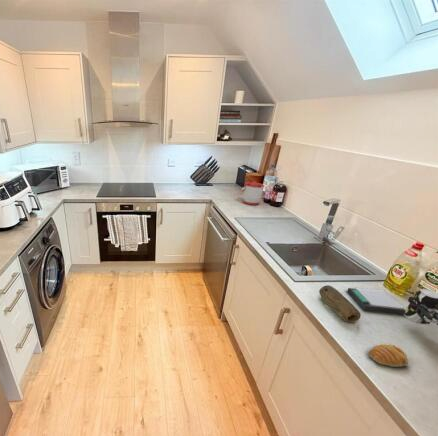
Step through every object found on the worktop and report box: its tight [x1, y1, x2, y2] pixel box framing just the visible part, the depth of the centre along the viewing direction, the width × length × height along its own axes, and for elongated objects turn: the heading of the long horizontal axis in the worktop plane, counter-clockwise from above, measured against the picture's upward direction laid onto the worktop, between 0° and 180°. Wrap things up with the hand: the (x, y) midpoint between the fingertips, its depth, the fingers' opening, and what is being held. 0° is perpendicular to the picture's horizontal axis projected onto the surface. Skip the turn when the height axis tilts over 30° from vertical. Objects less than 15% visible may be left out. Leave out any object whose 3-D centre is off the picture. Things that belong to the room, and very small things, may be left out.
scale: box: [346, 287, 406, 316], centre depth 97 cm, size 14×11×3 cm
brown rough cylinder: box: [318, 284, 362, 323], centre depth 93 cm, size 15×7×7 cm, turn 5°
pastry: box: [368, 344, 410, 368], centre depth 74 cm, size 9×7×4 cm
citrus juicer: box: [241, 180, 265, 206], centre depth 204 cm, size 16×17×20 cm
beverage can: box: [403, 288, 438, 325], centre depth 82 cm, size 6×6×12 cm
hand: (414, 298), depth 84 cm, fingers closed on beverage can, 3 cm apart
